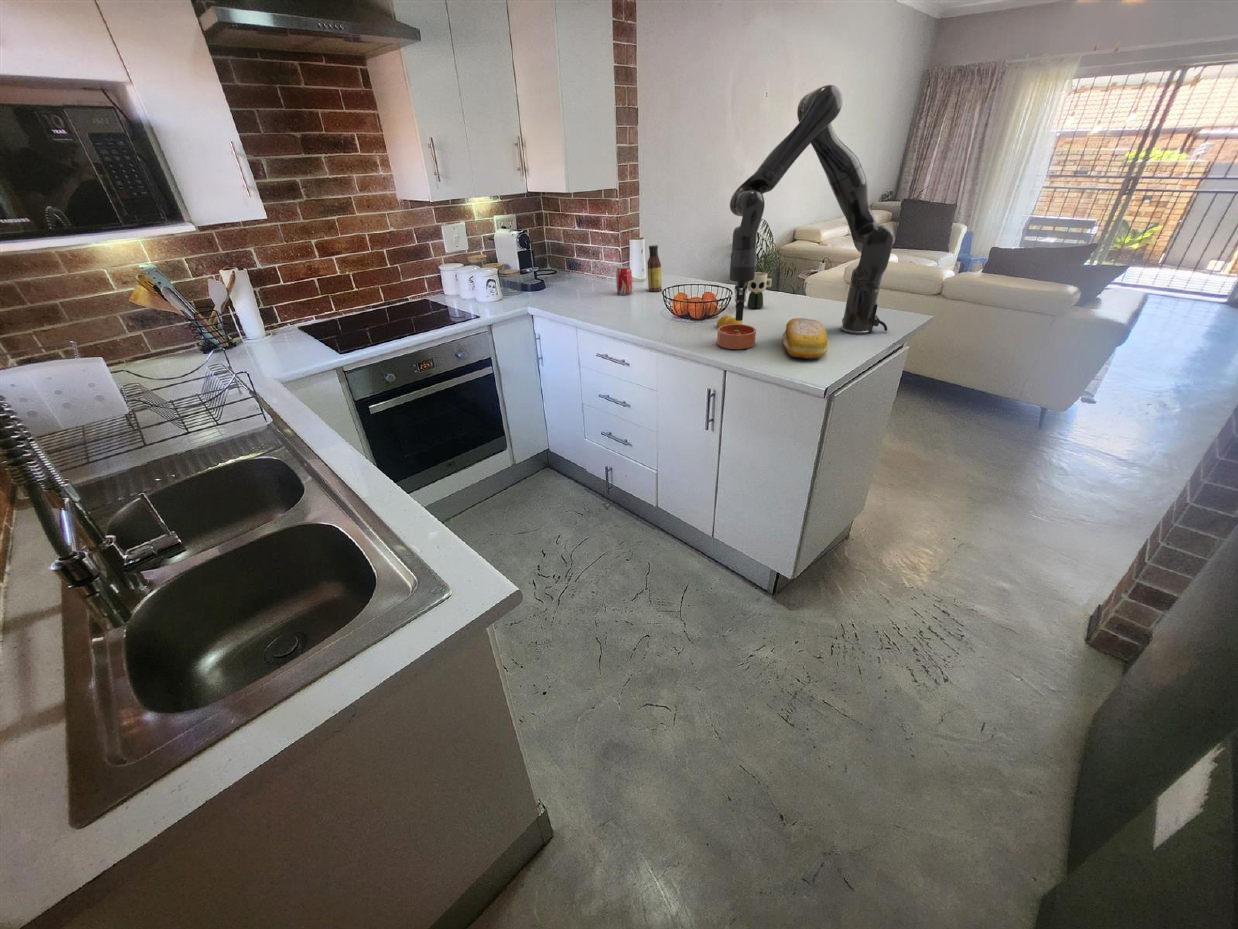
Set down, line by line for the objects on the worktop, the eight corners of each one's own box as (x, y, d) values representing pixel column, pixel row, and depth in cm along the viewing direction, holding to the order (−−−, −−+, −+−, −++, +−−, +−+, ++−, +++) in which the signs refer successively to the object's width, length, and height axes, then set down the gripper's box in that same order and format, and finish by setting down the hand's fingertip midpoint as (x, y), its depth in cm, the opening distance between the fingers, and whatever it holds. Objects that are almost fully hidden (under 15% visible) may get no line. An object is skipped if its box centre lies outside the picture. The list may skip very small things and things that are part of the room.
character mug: (741, 309, 203) (744, 276, 196) (741, 305, 209) (743, 272, 202) (769, 309, 201) (773, 275, 194) (768, 305, 207) (771, 272, 200)
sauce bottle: (664, 289, 238) (664, 244, 228) (657, 292, 234) (657, 246, 224) (651, 288, 242) (651, 243, 231) (645, 291, 237) (644, 245, 227)
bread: (784, 361, 152) (788, 335, 148) (778, 334, 174) (781, 311, 170) (831, 363, 149) (836, 336, 145) (819, 335, 171) (823, 311, 167)
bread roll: (732, 332, 178) (733, 321, 176) (713, 327, 184) (713, 316, 182) (747, 327, 183) (748, 316, 181) (727, 322, 189) (728, 311, 187)
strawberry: (741, 341, 168) (742, 329, 166) (740, 344, 165) (741, 332, 163) (730, 341, 169) (731, 328, 167) (730, 344, 166) (731, 331, 164)
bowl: (754, 339, 171) (756, 324, 168) (754, 351, 161) (755, 335, 158) (718, 338, 174) (719, 323, 171) (715, 349, 164) (716, 334, 161)
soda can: (615, 293, 237) (613, 266, 231) (629, 291, 239) (628, 264, 232) (619, 296, 231) (618, 268, 225) (634, 294, 233) (633, 267, 226)
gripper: (755, 267, 147) (751, 323, 156) (755, 258, 159) (751, 310, 168) (729, 268, 149) (726, 323, 158) (731, 259, 161) (728, 310, 169)
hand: (739, 316), depth 163 cm, fingers open, 8 cm apart
